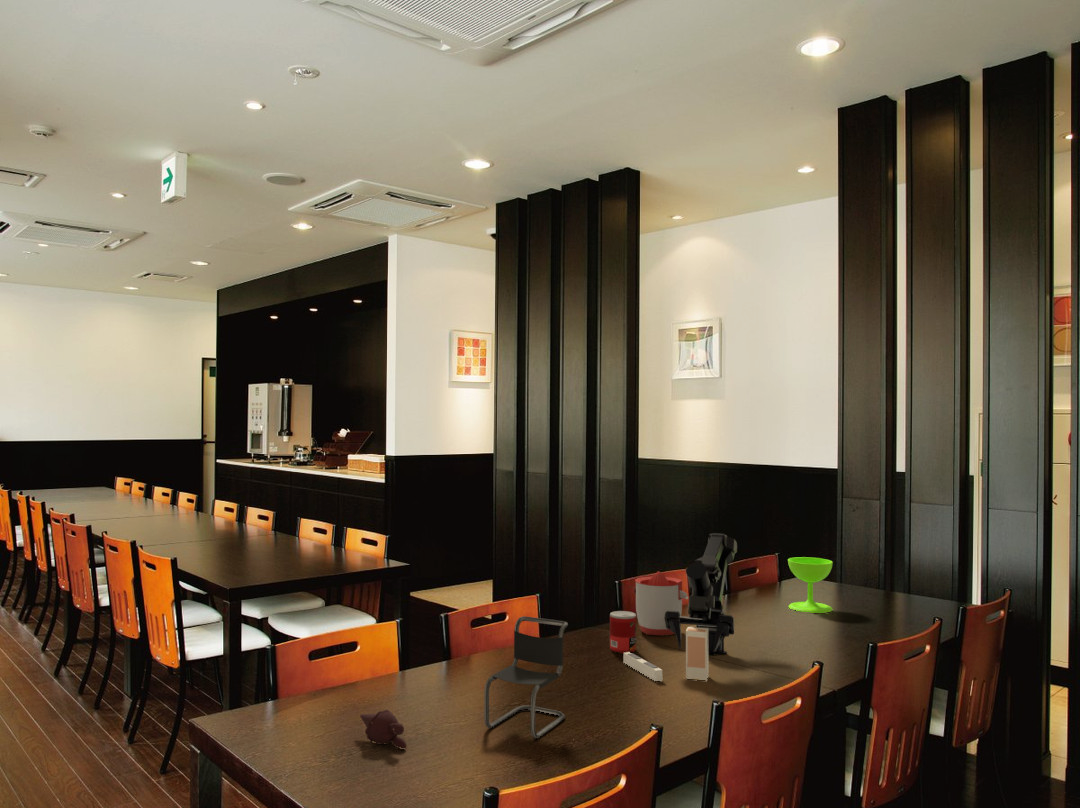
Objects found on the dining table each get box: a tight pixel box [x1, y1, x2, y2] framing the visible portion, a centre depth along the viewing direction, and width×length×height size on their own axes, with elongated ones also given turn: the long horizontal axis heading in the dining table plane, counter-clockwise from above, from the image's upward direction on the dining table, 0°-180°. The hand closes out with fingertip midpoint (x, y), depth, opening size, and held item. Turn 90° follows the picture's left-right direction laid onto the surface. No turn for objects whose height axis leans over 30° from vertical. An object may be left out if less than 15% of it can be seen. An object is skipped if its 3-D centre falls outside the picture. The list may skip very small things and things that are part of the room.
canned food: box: [609, 610, 637, 654], centre depth 239 cm, size 8×8×11 cm
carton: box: [685, 626, 709, 682], centre depth 213 cm, size 5×6×13 cm
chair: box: [483, 615, 569, 739], centre depth 180 cm, size 13×17×22 cm
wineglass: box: [787, 556, 834, 613], centre depth 296 cm, size 16×16×18 cm
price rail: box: [622, 652, 663, 682], centre depth 218 cm, size 2×18×3 cm, turn 22°
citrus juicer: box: [634, 570, 689, 636], centre depth 261 cm, size 16×17×20 cm
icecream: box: [360, 709, 407, 749], centre depth 168 cm, size 7×7×15 cm
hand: (696, 649), depth 213 cm, fingers open, 9 cm apart
